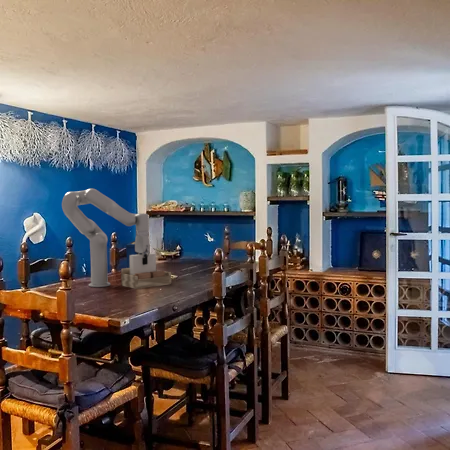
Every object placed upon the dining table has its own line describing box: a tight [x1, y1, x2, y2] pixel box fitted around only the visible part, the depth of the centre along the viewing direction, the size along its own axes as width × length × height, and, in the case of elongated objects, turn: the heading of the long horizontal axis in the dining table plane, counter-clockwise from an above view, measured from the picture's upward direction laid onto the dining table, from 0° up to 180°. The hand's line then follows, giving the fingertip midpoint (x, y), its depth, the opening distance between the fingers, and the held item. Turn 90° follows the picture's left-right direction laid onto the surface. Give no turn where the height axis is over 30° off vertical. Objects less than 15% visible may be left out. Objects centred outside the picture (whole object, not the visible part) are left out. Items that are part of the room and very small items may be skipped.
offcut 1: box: [135, 272, 151, 280], centre depth 290 cm, size 4×8×8 cm, turn 132°
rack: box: [120, 264, 172, 290], centre depth 296 cm, size 17×24×10 cm
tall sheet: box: [130, 252, 157, 275], centre depth 299 cm, size 4×16×18 cm, turn 132°
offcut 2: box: [150, 270, 166, 278], centre depth 297 cm, size 4×8×8 cm, turn 132°
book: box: [125, 240, 146, 268], centre depth 313 cm, size 22×7×25 cm, turn 168°
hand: (142, 263), depth 299 cm, fingers closed on tall sheet, 4 cm apart
